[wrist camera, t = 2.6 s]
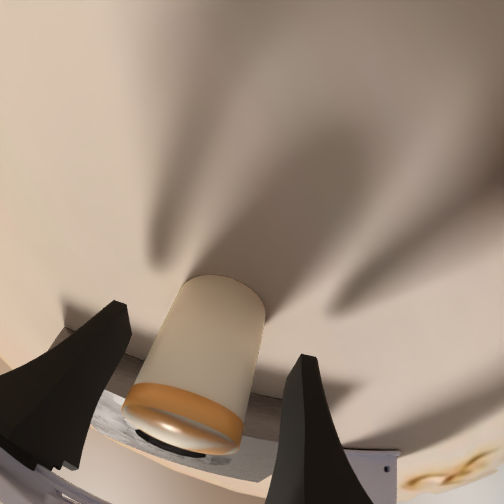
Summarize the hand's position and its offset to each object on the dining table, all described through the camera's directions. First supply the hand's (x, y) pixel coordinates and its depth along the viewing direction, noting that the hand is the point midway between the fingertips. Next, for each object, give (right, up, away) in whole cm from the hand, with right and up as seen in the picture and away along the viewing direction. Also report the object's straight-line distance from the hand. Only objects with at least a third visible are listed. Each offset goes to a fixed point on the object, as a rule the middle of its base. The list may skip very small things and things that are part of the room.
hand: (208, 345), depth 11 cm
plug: (0, +1, +2) cm, 2 cm away
